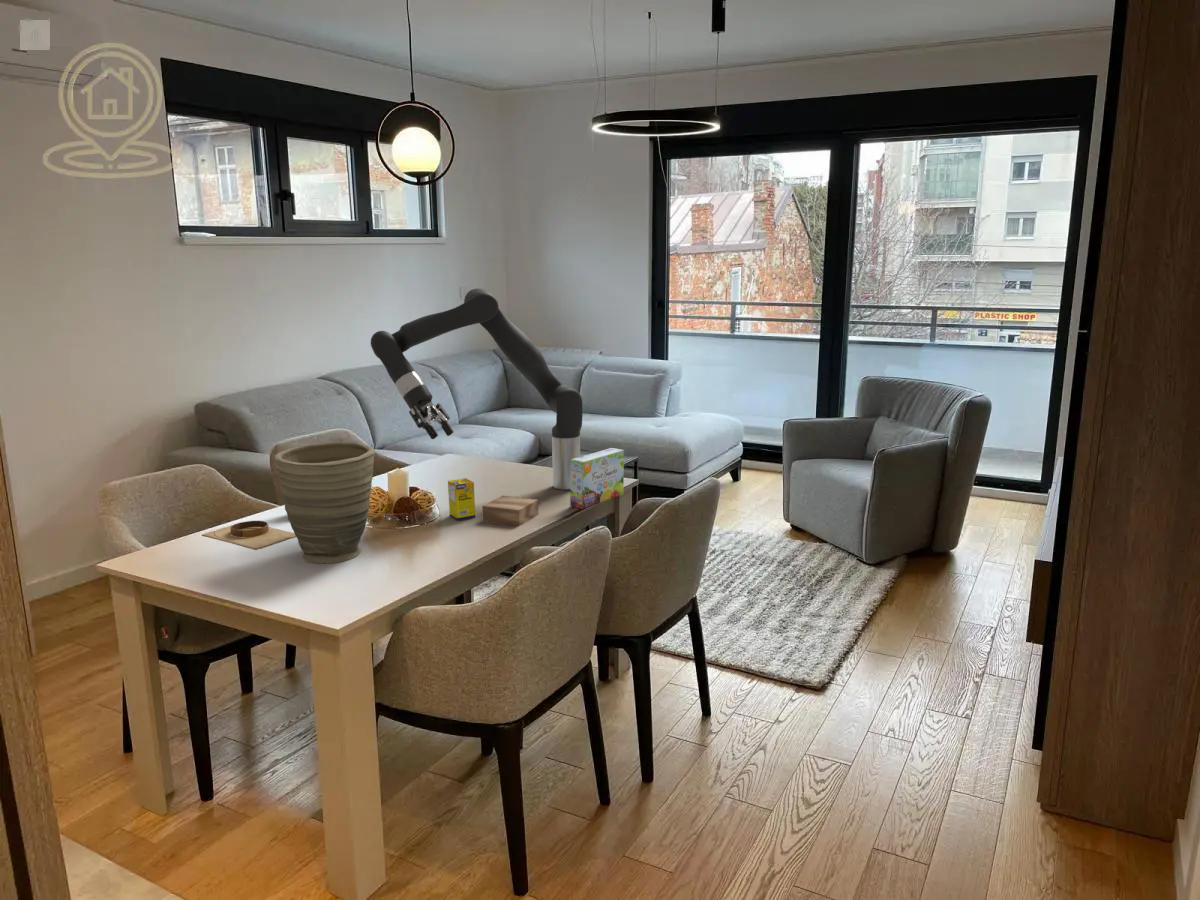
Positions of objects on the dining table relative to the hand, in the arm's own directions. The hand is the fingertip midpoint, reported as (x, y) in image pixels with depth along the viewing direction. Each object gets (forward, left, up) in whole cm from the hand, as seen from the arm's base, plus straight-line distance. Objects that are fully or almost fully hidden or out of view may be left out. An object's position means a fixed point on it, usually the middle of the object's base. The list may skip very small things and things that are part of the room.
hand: (443, 436), depth 257 cm
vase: (+41, -9, -24) cm, 48 cm away
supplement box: (+1, +6, -24) cm, 25 cm away
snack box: (-29, +37, -24) cm, 53 cm away
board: (+36, -41, -25) cm, 60 cm away
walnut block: (-3, +20, -24) cm, 31 cm away
